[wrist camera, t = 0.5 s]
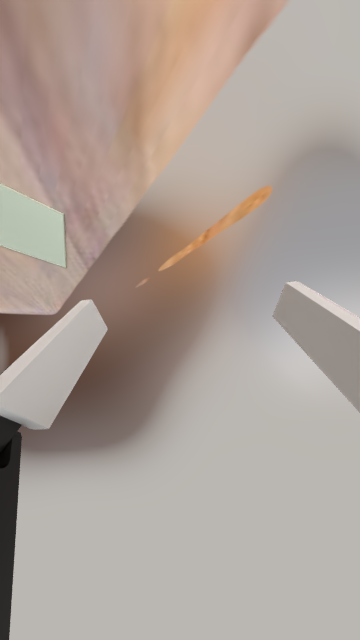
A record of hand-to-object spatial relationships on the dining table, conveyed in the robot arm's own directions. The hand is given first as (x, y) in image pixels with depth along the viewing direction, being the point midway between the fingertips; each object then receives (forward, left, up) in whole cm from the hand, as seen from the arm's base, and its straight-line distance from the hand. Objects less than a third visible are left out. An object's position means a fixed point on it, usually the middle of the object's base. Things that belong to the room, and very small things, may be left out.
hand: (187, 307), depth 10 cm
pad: (+20, -23, -27) cm, 41 cm away
